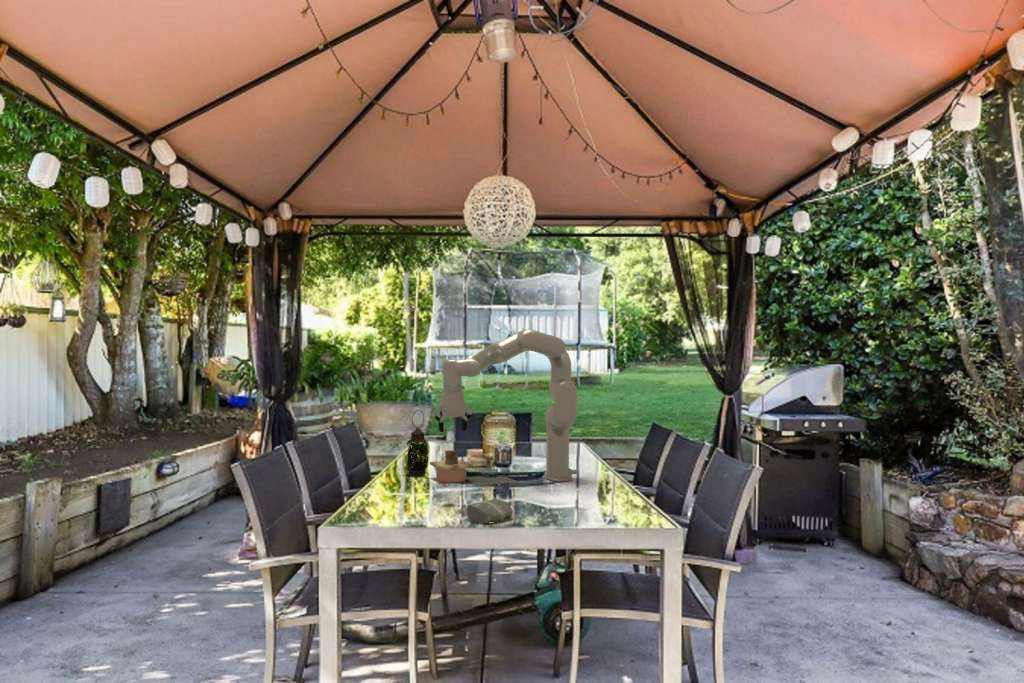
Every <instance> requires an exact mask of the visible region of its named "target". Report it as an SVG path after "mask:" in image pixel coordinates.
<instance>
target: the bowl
mask: <svg viewBox="0 0 1024 683" xmlns="http://www.w3.org/2000/svg"><path fill="white" fill-rule="evenodd" d="M466 470H467V468H460V469H443V470H440V469H438V468H436V475H435V476H436V481H438V482H441V483H461V482H464V481H466V477H467V475H466V474H467V473H466V472H467V471H466Z"/></svg>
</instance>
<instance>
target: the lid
mask: <svg viewBox="0 0 1024 683" xmlns="http://www.w3.org/2000/svg"><path fill="white" fill-rule="evenodd" d="M444 457H445V458H444V460H440V461H429V465H430V466H433V467H434V468H435V469H437V468H438V469H440V470H443V469H460V468H466V469H474V466H475V465H474V464H471V463H470V462H467V461H465V460H461V459H459V452H458V451H457V450H445V456H444Z"/></svg>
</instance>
